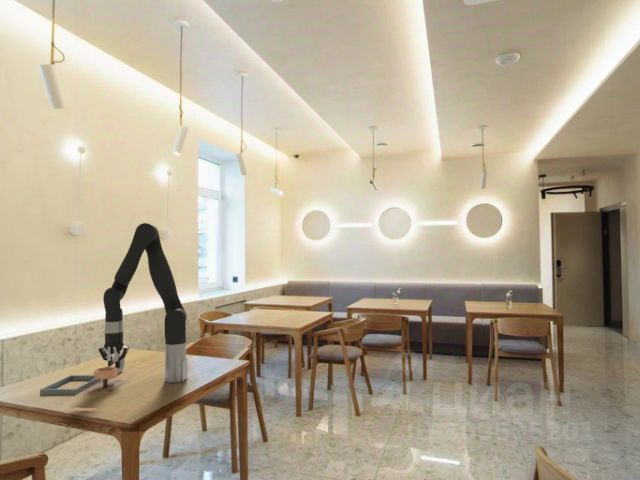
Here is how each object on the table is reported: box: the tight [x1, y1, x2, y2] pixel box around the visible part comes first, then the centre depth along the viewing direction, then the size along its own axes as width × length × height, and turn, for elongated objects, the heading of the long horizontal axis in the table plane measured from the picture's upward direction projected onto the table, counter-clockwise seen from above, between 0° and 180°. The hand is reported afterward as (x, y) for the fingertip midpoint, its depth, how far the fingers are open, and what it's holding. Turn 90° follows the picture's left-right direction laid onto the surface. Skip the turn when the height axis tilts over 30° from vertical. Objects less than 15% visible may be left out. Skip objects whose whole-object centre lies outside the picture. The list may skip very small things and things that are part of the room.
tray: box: [39, 374, 103, 398], centre depth 178 cm, size 15×20×3 cm
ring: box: [93, 364, 119, 380], centre depth 180 cm, size 8×13×3 cm, turn 179°
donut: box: [112, 353, 126, 374], centre depth 200 cm, size 10×4×10 cm, turn 177°
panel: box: [83, 378, 130, 393], centre depth 180 cm, size 12×16×8 cm
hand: (114, 369), depth 185 cm, fingers closed on ring, 2 cm apart
